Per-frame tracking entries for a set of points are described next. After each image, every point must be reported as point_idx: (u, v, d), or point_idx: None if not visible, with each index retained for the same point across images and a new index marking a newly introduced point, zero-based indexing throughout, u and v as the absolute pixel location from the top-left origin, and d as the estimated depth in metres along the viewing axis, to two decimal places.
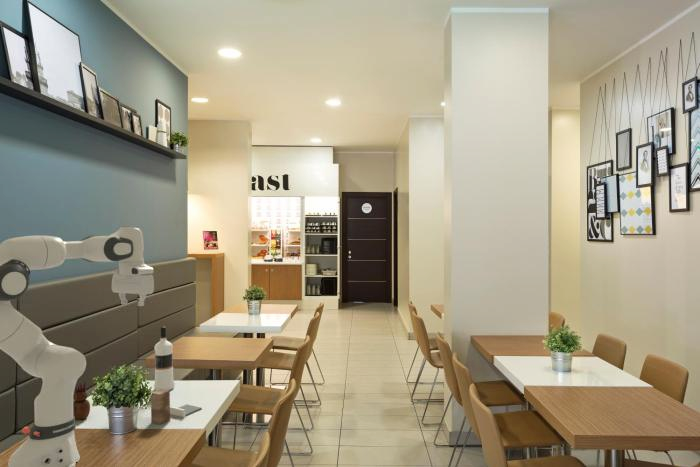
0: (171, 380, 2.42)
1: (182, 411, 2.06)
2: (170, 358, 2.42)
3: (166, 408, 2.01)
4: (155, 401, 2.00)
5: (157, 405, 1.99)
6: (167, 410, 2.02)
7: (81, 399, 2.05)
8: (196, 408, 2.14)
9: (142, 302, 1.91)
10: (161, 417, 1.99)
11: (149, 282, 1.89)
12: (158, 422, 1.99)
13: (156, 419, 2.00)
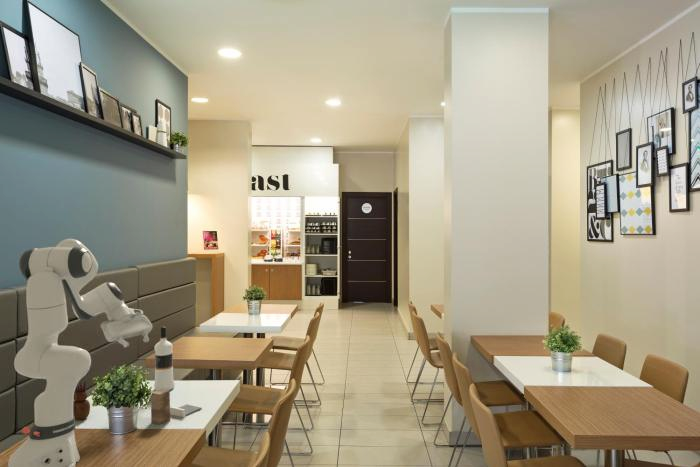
0: (171, 380, 2.42)
1: (182, 411, 2.06)
2: (170, 358, 2.42)
3: (166, 408, 2.01)
4: (155, 401, 2.00)
5: (157, 405, 1.99)
6: (167, 410, 2.02)
7: (81, 399, 2.05)
8: (196, 408, 2.14)
9: None
10: (161, 417, 1.99)
11: None
12: (158, 422, 1.99)
13: (156, 419, 2.00)
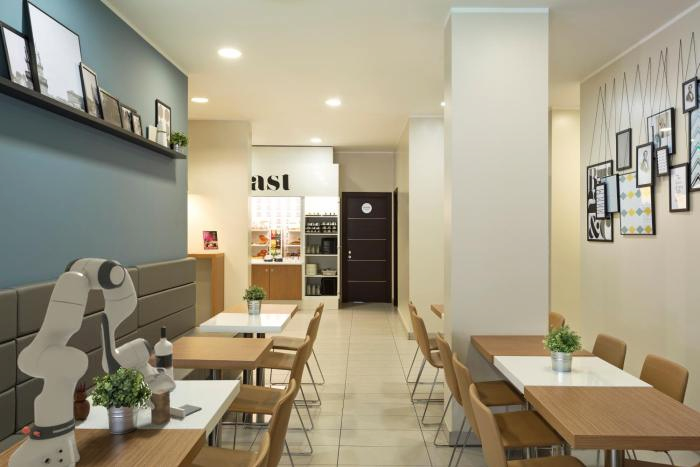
0: None
1: (182, 411, 2.06)
2: (170, 358, 2.42)
3: (166, 408, 2.01)
4: (155, 401, 2.00)
5: (157, 405, 1.99)
6: (167, 410, 2.02)
7: (81, 399, 2.05)
8: (196, 408, 2.14)
9: None
10: (161, 417, 1.99)
11: None
12: (158, 422, 1.99)
13: (156, 419, 2.00)
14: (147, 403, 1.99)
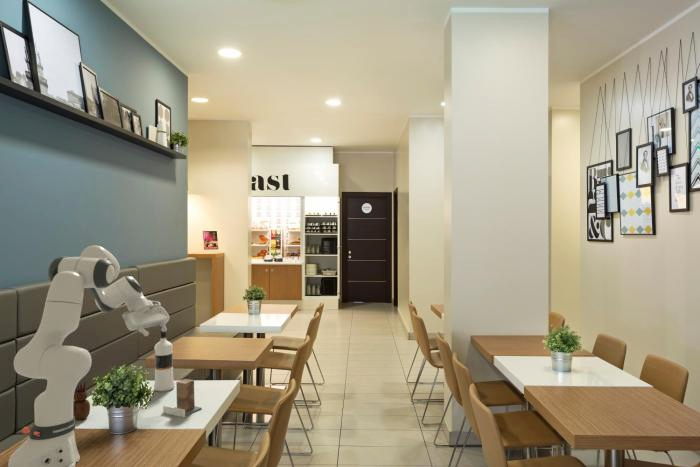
0: (171, 380, 2.42)
1: (182, 411, 2.06)
2: (170, 358, 2.42)
3: (190, 396, 2.12)
4: (181, 389, 2.11)
5: (183, 393, 2.10)
6: (192, 399, 2.13)
7: (81, 399, 2.05)
8: (196, 408, 2.14)
9: None
10: (186, 405, 2.11)
11: None
12: None
13: (181, 407, 2.11)
14: (140, 330, 2.17)
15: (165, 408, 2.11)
